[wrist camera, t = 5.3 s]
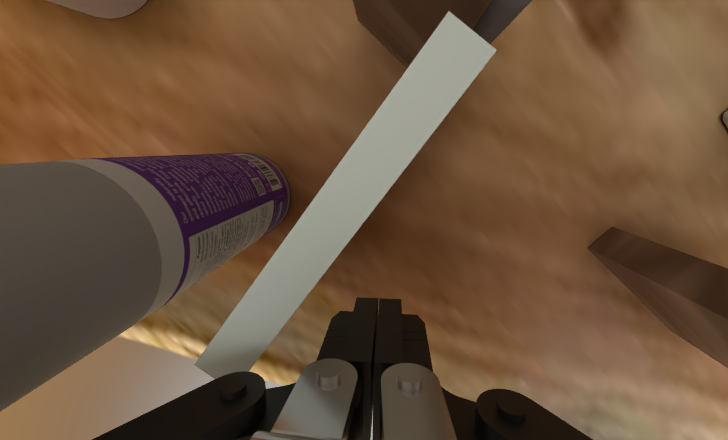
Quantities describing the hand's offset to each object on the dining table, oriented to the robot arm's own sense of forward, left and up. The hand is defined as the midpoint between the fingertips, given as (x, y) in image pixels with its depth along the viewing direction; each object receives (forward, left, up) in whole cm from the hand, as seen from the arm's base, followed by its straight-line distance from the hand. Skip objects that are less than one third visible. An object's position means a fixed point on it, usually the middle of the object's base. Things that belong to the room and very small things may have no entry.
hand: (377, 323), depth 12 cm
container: (+3, -8, -8) cm, 12 cm away
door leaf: (-2, -4, -8) cm, 9 cm away
